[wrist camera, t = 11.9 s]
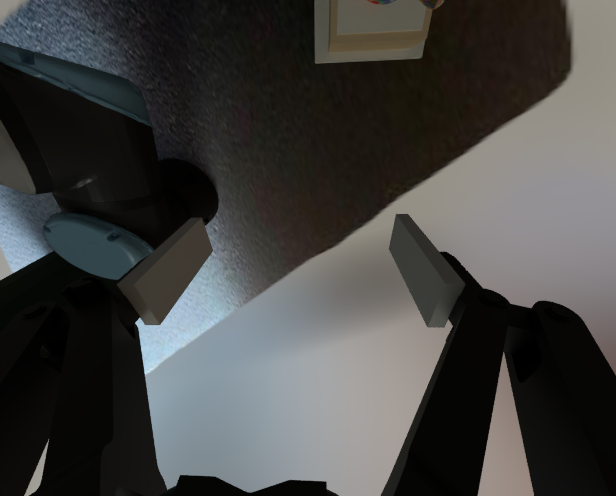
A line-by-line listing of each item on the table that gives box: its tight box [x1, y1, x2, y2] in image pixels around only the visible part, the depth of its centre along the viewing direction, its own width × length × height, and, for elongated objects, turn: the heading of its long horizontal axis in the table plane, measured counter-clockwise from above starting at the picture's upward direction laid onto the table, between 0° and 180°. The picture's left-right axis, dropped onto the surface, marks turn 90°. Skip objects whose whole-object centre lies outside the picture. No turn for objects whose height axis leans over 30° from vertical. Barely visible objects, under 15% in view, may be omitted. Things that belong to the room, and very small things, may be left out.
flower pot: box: [0, 251, 117, 358], centre depth 50 cm, size 25×25×28 cm
